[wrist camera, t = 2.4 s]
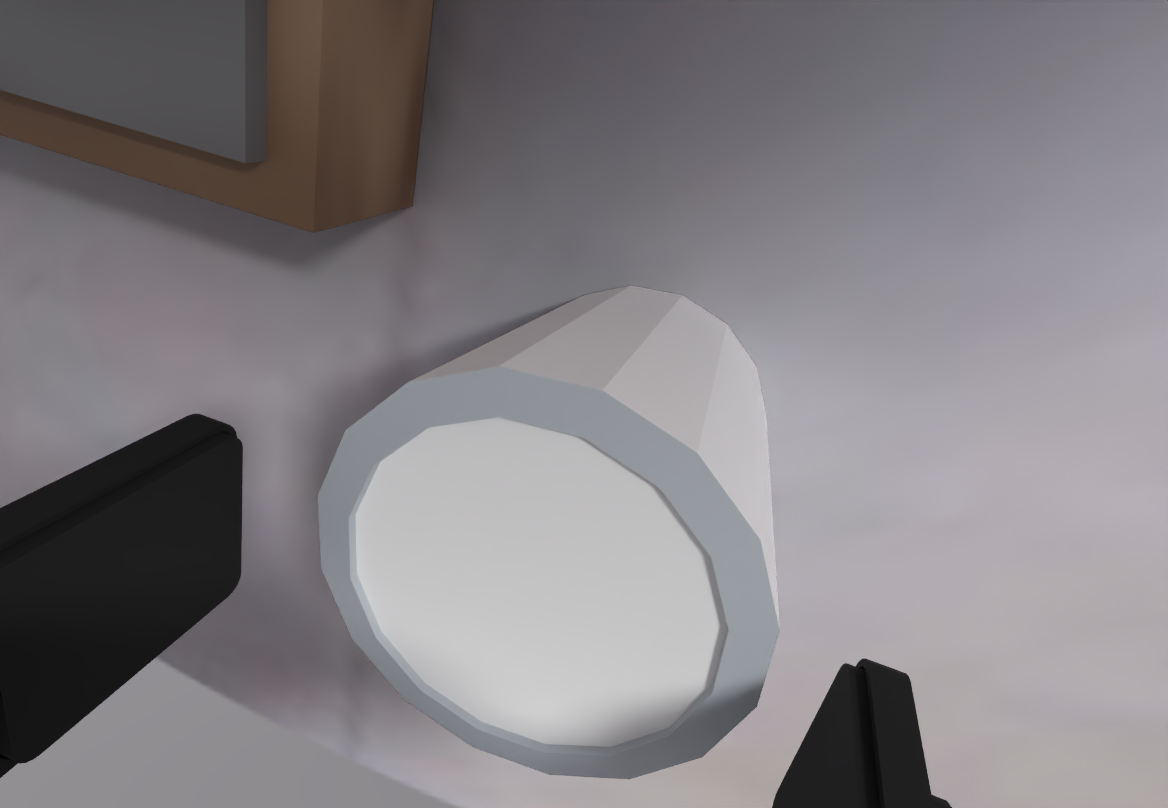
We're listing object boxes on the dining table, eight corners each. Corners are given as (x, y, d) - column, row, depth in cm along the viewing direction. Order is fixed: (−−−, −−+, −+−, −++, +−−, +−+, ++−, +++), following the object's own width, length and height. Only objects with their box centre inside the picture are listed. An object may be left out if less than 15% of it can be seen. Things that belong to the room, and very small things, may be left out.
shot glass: (513, 525, 18) (358, 741, 12) (479, 258, 16) (261, 362, 10) (790, 553, 16) (772, 830, 10) (802, 252, 14) (788, 379, 8)
